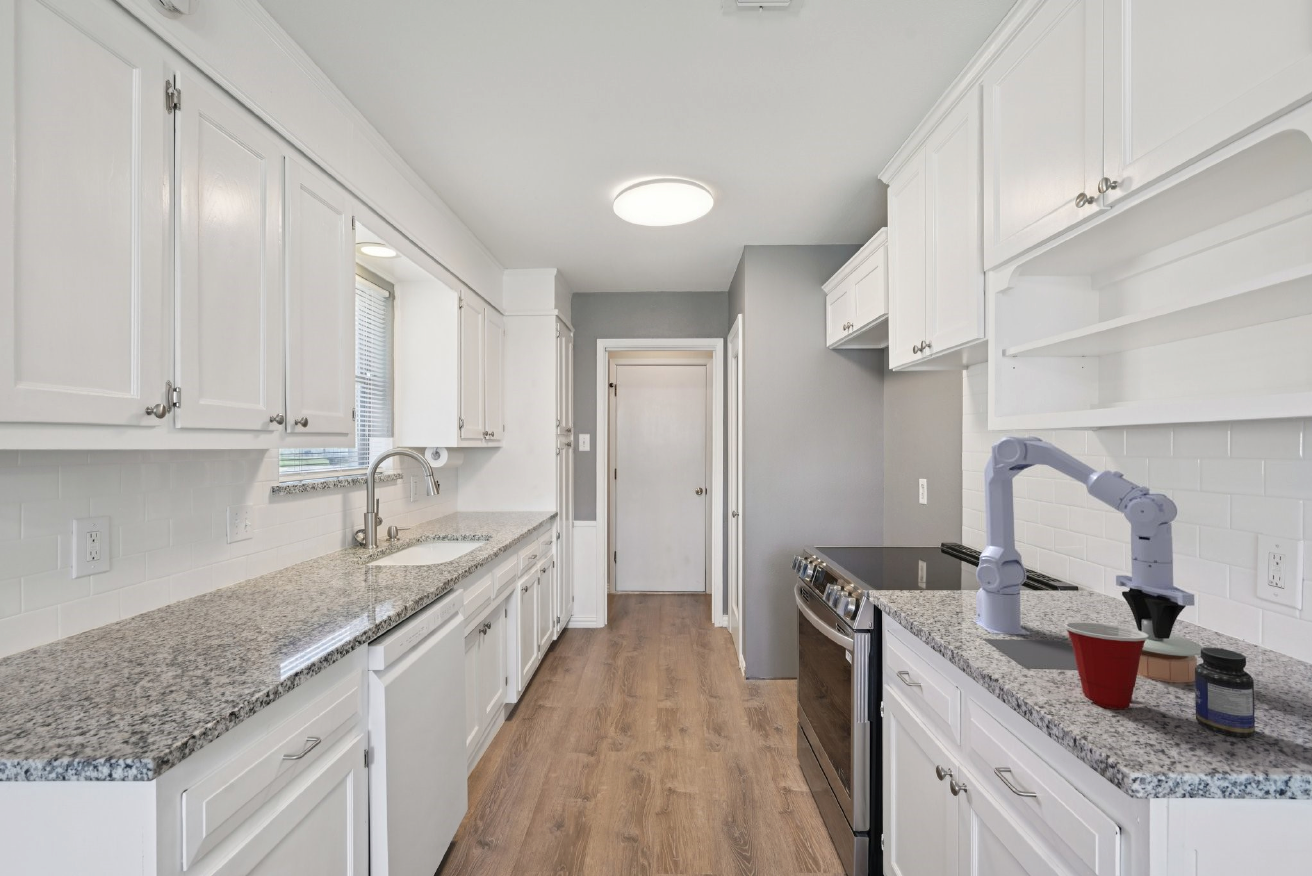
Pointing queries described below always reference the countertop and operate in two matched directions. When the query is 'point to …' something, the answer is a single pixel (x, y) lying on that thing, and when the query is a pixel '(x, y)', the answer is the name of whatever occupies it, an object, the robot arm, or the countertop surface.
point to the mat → (1037, 653)
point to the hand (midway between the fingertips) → (1153, 634)
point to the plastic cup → (1106, 661)
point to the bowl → (1167, 667)
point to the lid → (1168, 642)
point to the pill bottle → (1224, 693)
